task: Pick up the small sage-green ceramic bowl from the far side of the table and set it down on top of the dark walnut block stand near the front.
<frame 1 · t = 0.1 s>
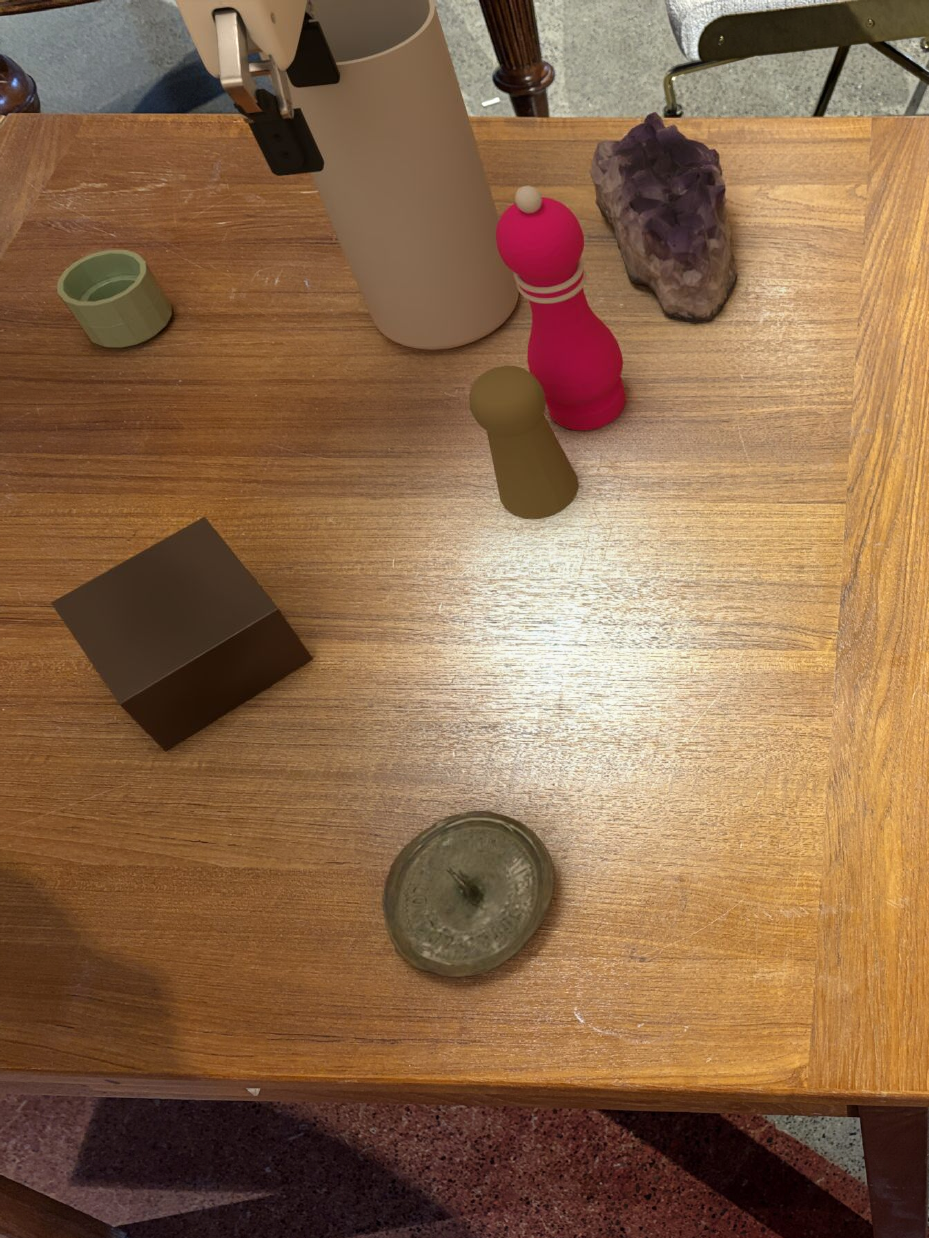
hand: (309, 126, 83), 25 cm above the table, tool pointing down, fingers open, 9 cm apart
bowl: (132, 324, 109), on the table
lid: (476, 904, 79), on the table
stand: (205, 656, 90), on the table
pepper mill: (588, 405, 103), on the table
brown peg doll: (539, 490, 98), on the table
cylinder vase: (448, 307, 110), on the table, touching gripper
geode: (680, 253, 113), on the table
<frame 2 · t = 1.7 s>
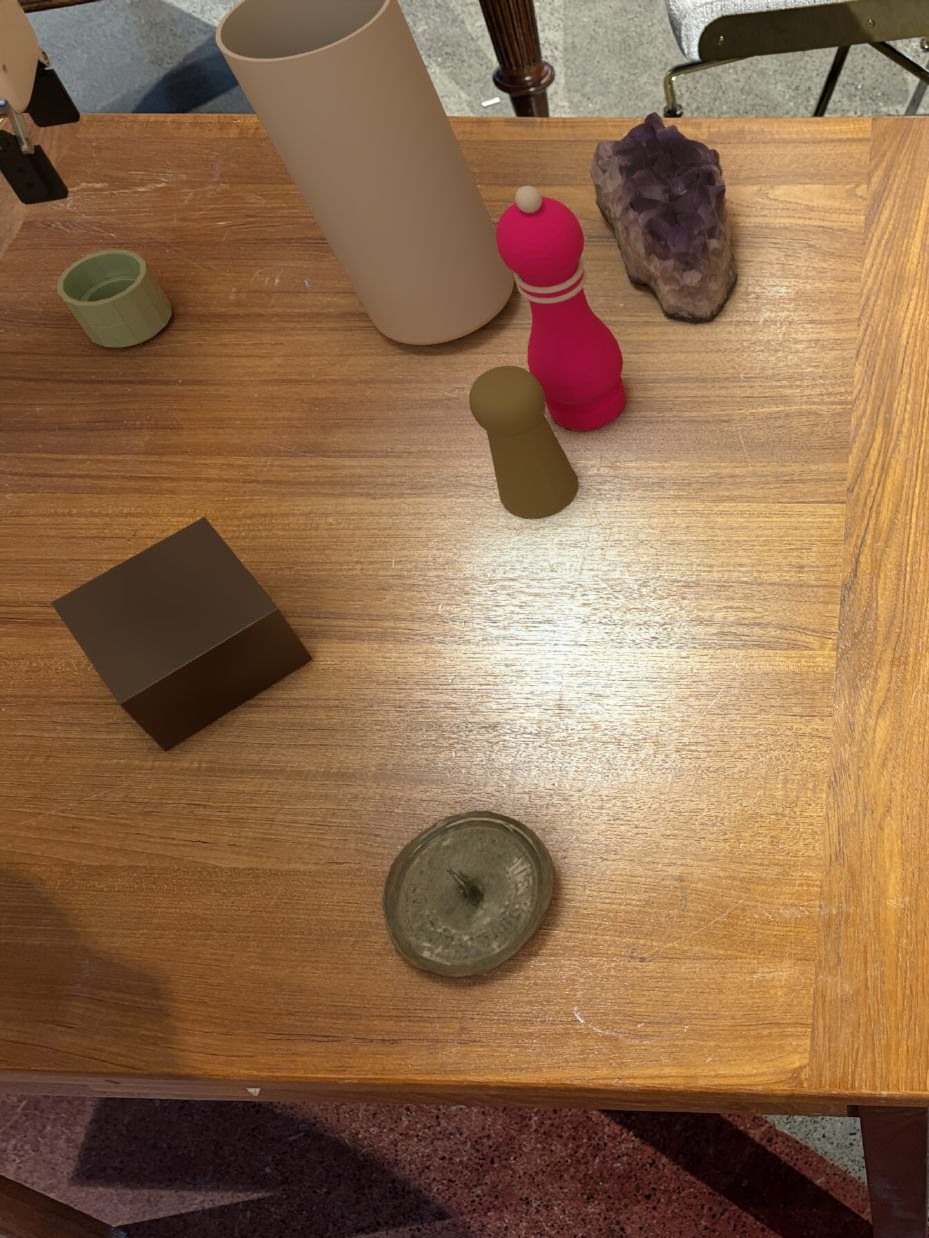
hand: (53, 160, 95), 17 cm above the table, tool pointing down, fingers open, 9 cm apart
cylinder vase: (446, 302, 109), on the table
everything else where it was.
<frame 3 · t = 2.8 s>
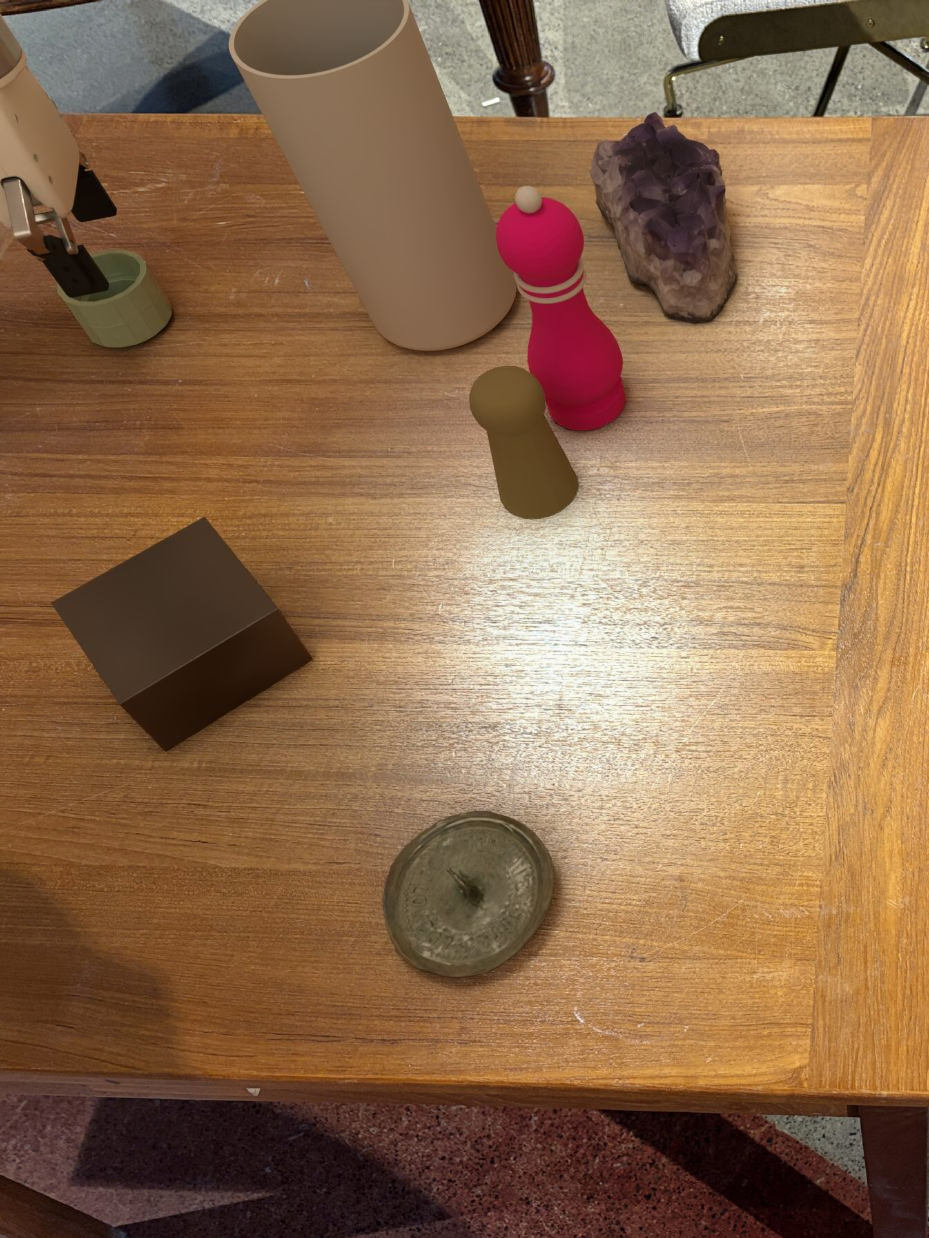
hand: (94, 253, 103), 7 cm above the table, tool pointing down, fingers open, 9 cm apart
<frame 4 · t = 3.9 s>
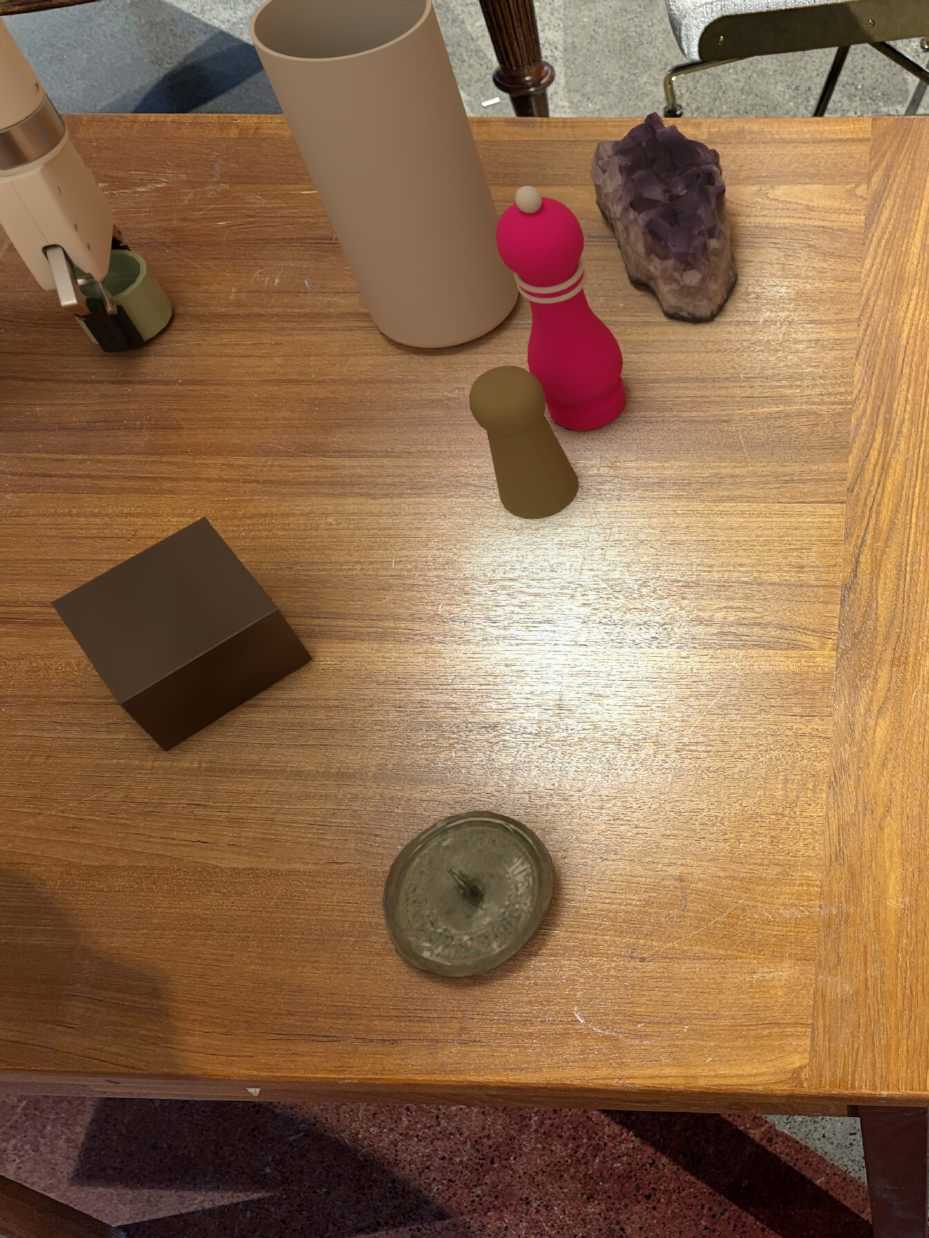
hand: (127, 316, 109), 1 cm above the table, tool pointing down, fingers closed on bowl, 7 cm apart
bowl: (132, 324, 109), on the table, touching gripper
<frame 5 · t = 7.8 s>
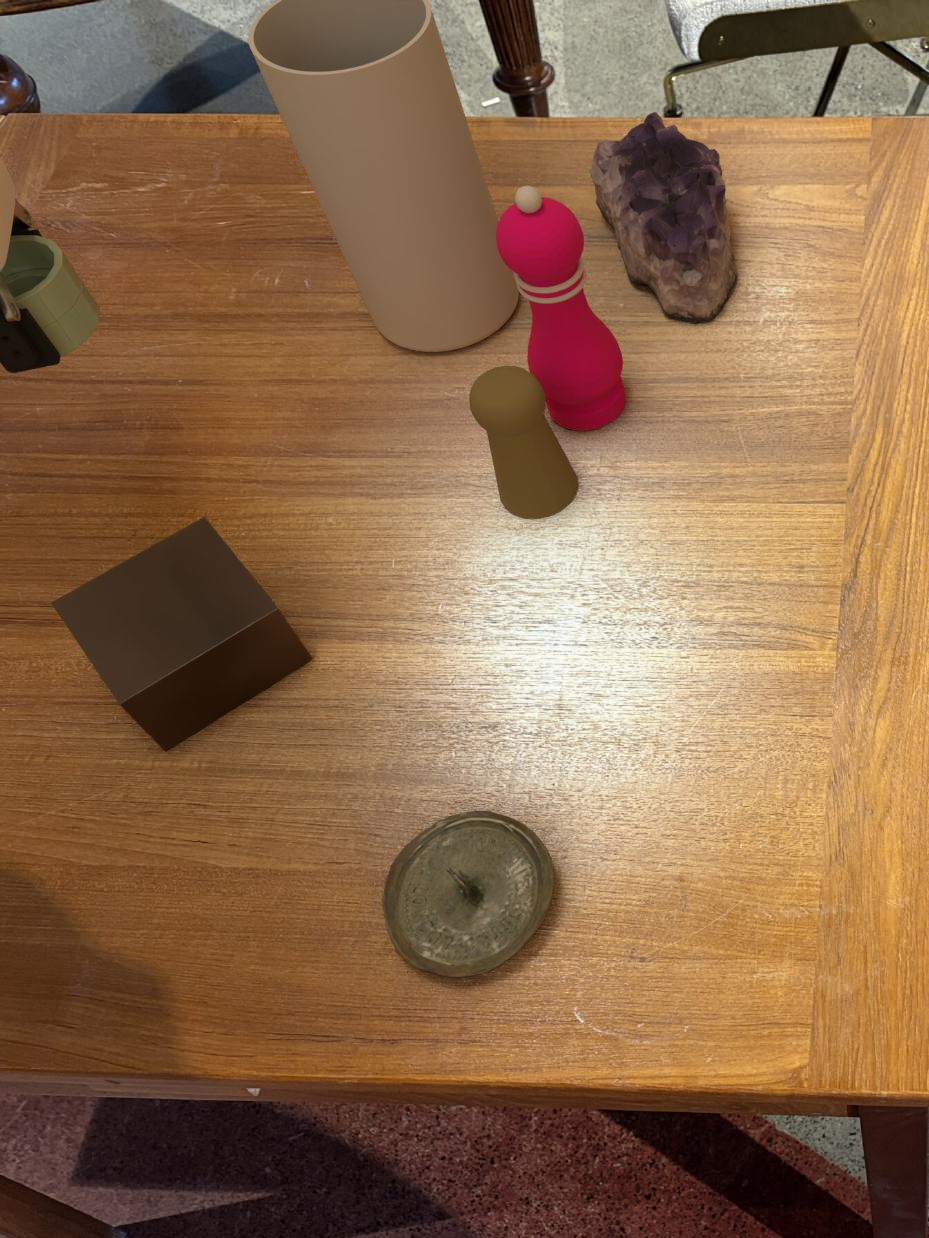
hand: (40, 323, 82), 18 cm above the table, tool pointing down, fingers closed on bowl, 7 cm apart
bowl: (48, 333, 83), point 17 cm above the table, touching gripper
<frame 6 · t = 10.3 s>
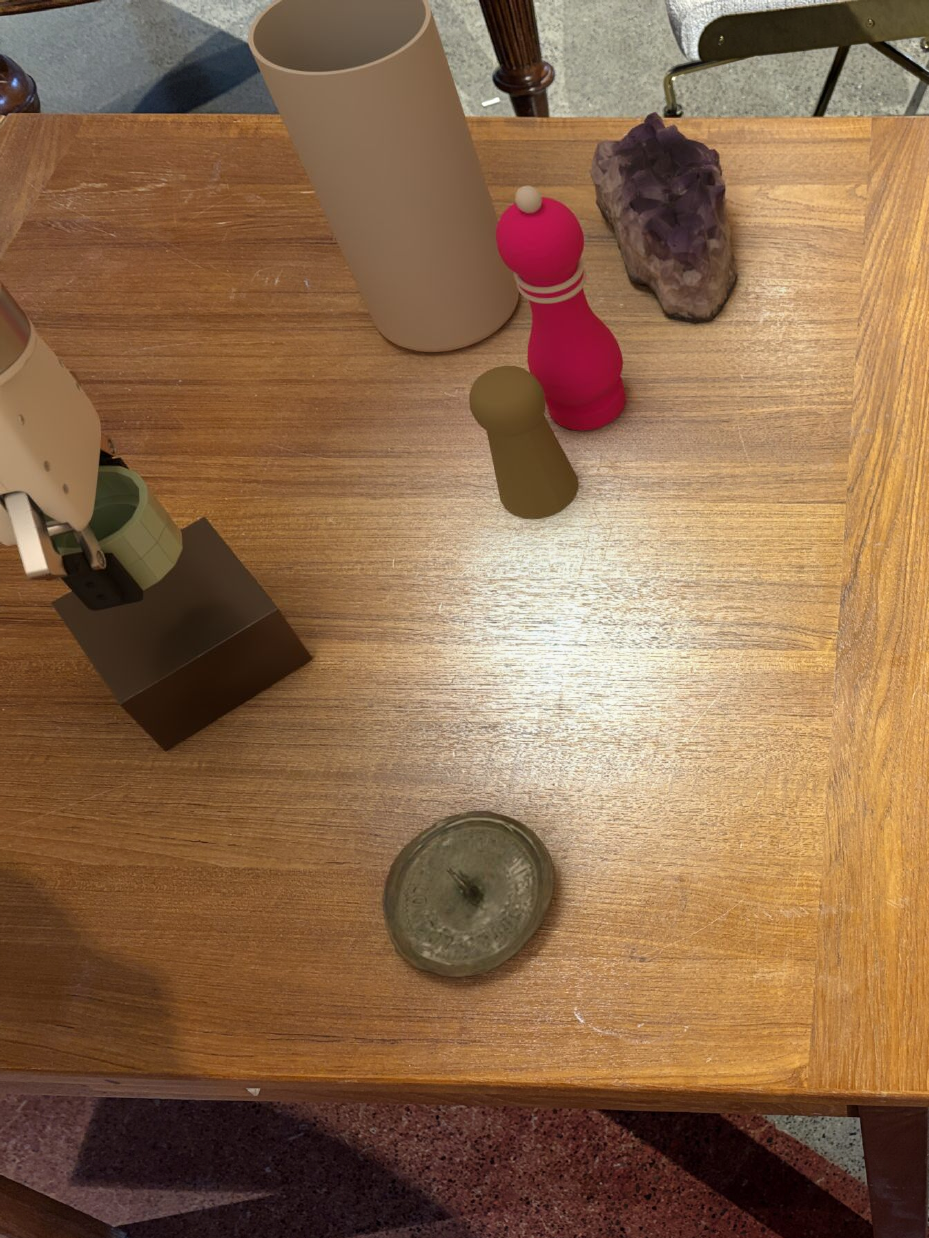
hand: (121, 552, 80), 12 cm above the table, tool pointing down, fingers closed on bowl, 7 cm apart
bowl: (129, 560, 81), point 11 cm above the table, touching gripper
when the fingers open (7 cm above the table, at t = 12.0 s): bowl stays where it is, resting on stand.
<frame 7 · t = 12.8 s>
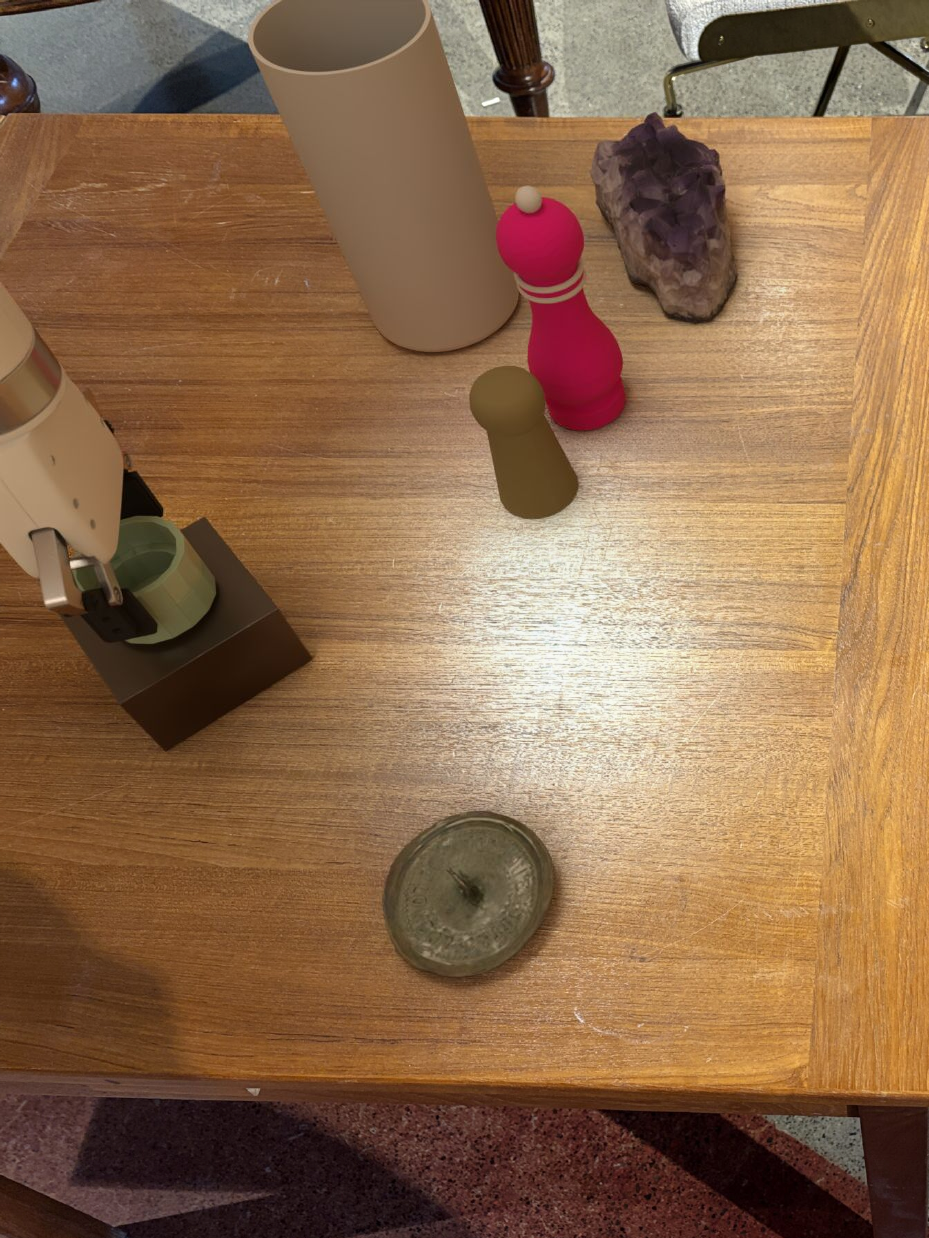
hand: (136, 575, 82), 9 cm above the table, tool pointing down, fingers open, 9 cm apart
bowl: (164, 605, 85), point 6 cm above the table, touching stand
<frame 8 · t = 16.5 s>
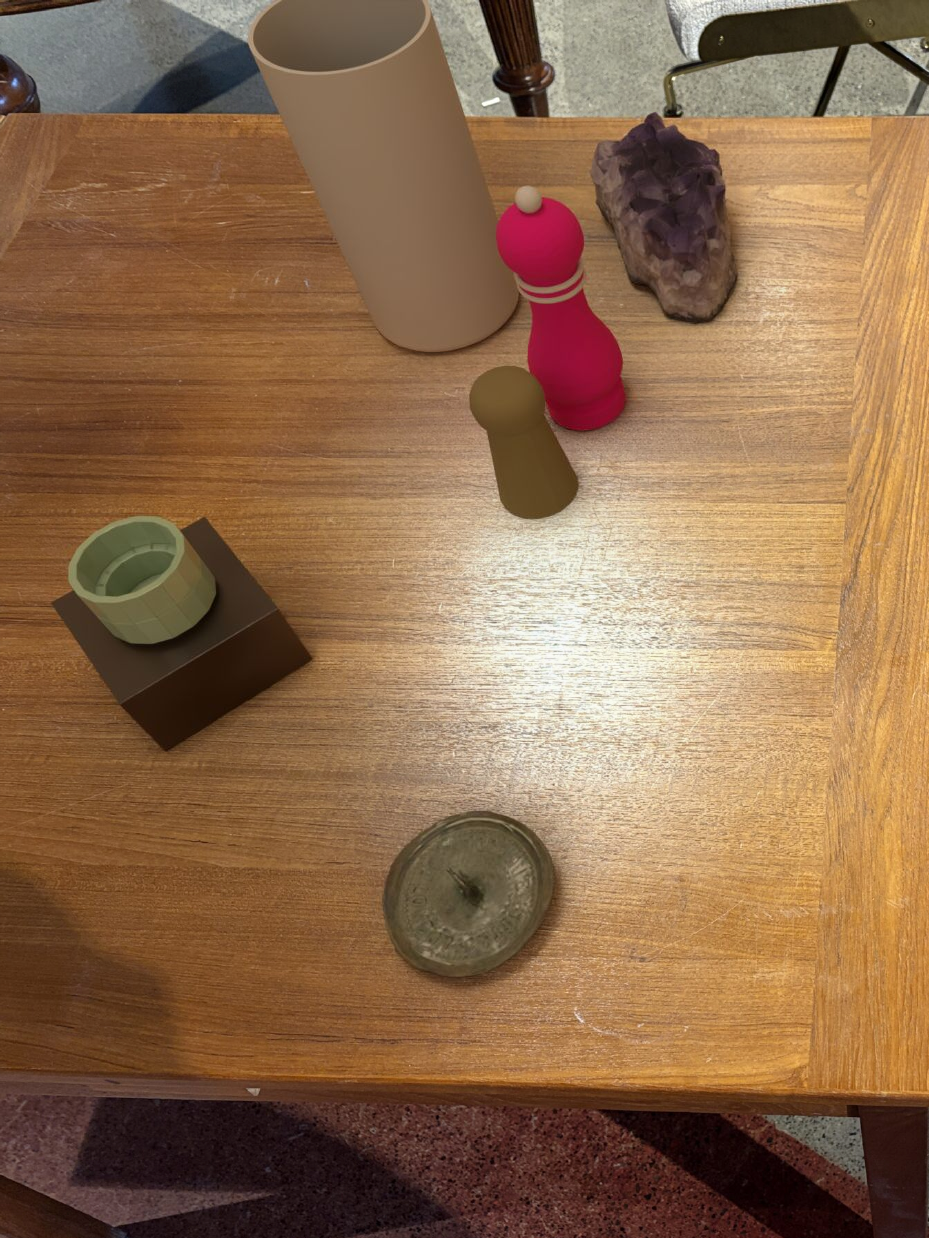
at the end: bowl inside the target area on the stand (0.1 cm from its centre), point 6.0 cm above the stand's base; bowl tilted 0°; the gripper is holding nothing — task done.
